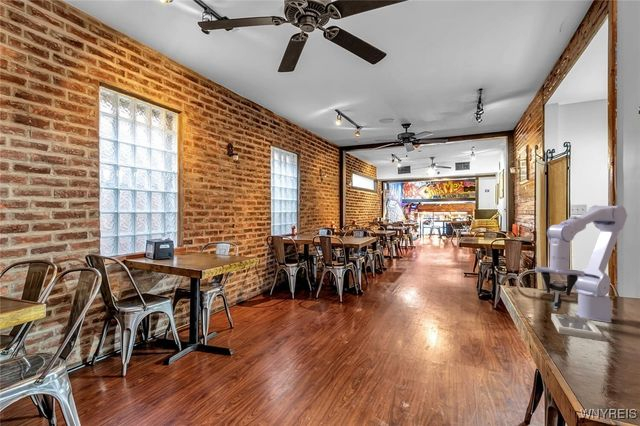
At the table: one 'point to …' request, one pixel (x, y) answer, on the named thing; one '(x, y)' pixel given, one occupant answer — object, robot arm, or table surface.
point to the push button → (557, 294)
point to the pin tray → (575, 326)
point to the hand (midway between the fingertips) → (558, 294)
